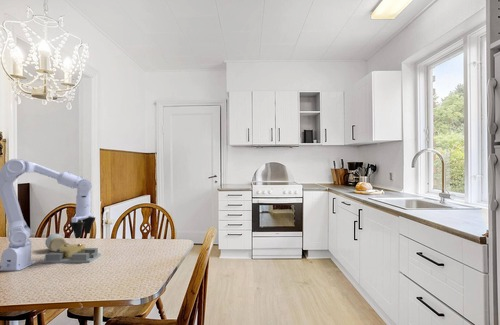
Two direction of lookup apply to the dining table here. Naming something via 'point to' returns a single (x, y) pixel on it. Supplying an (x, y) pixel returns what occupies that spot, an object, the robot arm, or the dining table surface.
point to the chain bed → (68, 260)
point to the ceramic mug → (55, 242)
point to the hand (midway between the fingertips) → (82, 235)
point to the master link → (71, 249)
